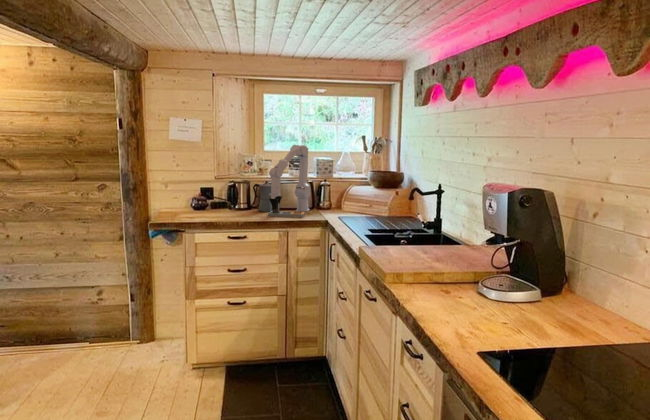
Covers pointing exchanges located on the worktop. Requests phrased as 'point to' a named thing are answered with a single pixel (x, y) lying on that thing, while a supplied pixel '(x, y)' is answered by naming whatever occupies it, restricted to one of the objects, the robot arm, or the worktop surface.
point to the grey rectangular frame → (287, 214)
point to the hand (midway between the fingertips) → (275, 208)
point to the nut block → (276, 209)
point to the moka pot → (264, 197)
